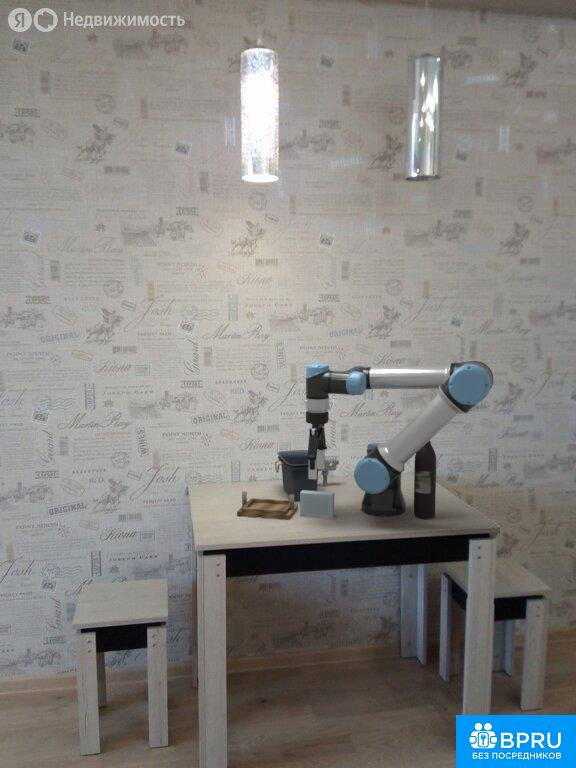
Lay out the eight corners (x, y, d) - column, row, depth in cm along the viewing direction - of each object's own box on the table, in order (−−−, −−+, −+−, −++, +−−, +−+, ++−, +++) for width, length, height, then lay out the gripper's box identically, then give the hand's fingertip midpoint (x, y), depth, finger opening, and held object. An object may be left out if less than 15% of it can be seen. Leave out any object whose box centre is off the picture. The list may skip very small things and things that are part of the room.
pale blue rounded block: (334, 515, 252) (334, 492, 251) (332, 518, 248) (332, 495, 247) (302, 513, 254) (302, 490, 253) (300, 516, 251) (300, 493, 250)
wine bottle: (409, 514, 252) (411, 426, 248) (427, 512, 255) (429, 425, 251) (420, 520, 246) (422, 430, 242) (439, 518, 248) (441, 428, 244)
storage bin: (325, 501, 268) (325, 462, 266) (283, 504, 264) (283, 464, 262) (309, 485, 288) (309, 449, 287) (269, 488, 285) (269, 451, 283)
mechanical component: (311, 485, 289) (311, 460, 287) (337, 484, 290) (337, 458, 289) (312, 487, 286) (312, 461, 284) (339, 486, 288) (339, 460, 286)
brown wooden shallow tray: (298, 508, 259) (298, 490, 259) (289, 519, 247) (289, 500, 246) (247, 505, 264) (247, 487, 263) (236, 516, 251) (236, 497, 250)
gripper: (313, 404, 260) (312, 464, 262) (297, 416, 235) (297, 482, 238) (334, 405, 258) (334, 465, 261) (321, 417, 234) (320, 484, 237)
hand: (316, 473), depth 250 cm, fingers open, 13 cm apart
